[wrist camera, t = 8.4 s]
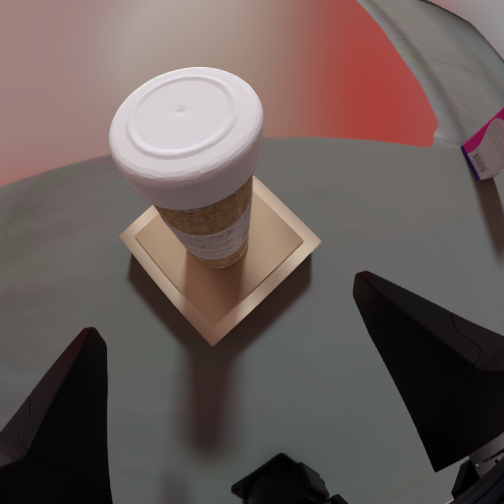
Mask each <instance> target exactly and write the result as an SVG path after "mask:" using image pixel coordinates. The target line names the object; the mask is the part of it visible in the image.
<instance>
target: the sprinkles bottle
mask: <svg viewBox="0 0 504 504" xmlns="http://www.w3.org/2000/svg"><path fill="white" fill-rule="evenodd" d="M262 137H263V109H262V105H261V102H260V100H259V98H258V96H257V95H256V93H255V92H254V90H253V89H252V88H251V87H250V86H249V85H248V84H247V83H246V82H245V81H243V80H242V79H241V78H239V77H237V76H236V75H233V74H231V73H229V72H226V71H223V70H219V69H214V68H206V67H192V68H184V69H179V70H174V71H171V72H167V73H165V74H162V75H159V76H157V77H155V78H153V79H151V80H149V81H148V82H146V83H144V84H143V85H142V86H140V87H139V88H138V89H136V90H135V91H134V92H133V93H132V94H131V95H129V96H128V98H127V99H126V100H125V101H124V102H123V103H122V105H121V106H120V108H119V109H118V111H117V113H116V115H115V117H114V119H113V121H112V124H111V127H110V132H109V149H110V153H111V156H112V159H113V161H114V163H115V165H116V166H117V168H118V169H119V171H120V172H121V174H122V175H123V176H124V178H125V179H126V180H127V182H128V183H129V184H130V185H131V187H132V188H133V189H134V190H135V191H136V193H137V194H138V195H139V196H141V197H142V198H143V199H145V200H146V201H147V202H149V203H151V204H153V205H154V207H155V208H156V210H157V211H158V212H159V214H160V216H161V219H162V220H163V221H164V223H165V224H166V225H167V226H168V227H169V229H170V230H171V231H172V232H173V233H174V235H175V236H176V237H177V238H178V239H179V241H180V242H181V243H182V244H183V245H184V246H185V248H186V249H187V250H189V252H190V254H191V256H192V257H193V258H194V259H195V260H196V261H197V262H198V263H199V264H201V265H203V266H206V267H208V268H214V269H219V268H226V267H228V266H231V265H233V264H234V263H236V262H237V261H238V260H239V259H240V258H241V257H242V256H243V254H244V253H245V251H246V248H247V246H248V241H249V234H248V232H249V226H250V216H251V206H252V197H253V172H254V170H255V168H256V166H257V164H258V161H259V158H260V153H261V146H262Z"/></svg>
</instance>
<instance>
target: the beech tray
mask: <svg viewBox="0 0 504 504" xmlns="http://www.w3.org/2000/svg"><path fill="white" fill-rule="evenodd" d="M248 234H249V241H248V246H247V248H246V251H245V253H244V254H243V256H242V257H241V258H240V259H239V260H238V261H237V262H236V263H234V264H233V265H231V266H228V267H226V268H219V269H214V268H208V267H206V266H203V265H201V264H199V263H198V262H197V261H196V260H195V259H194V258H193V257H192V256H191V254H190V252H189V250H187V249H186V248H185V246H184V245H183V244H182V243H181V242H180V241H179V239H178V238H177V237H176V236H175V235H174V233H173V232H172V231H171V230H170V229H169V227H168V226H167V225H166V224H165V223H164V221H163V220H162V219H161V216H160V214H159V212H158V211H157V210H156V208H155V207H154V205H152V206H151V207H150V208H149V209H148V210H147V211H146V212H144V213H143V214H142V215H141V216H140V217H139V218H138V219H137V220H136V221H135V222H134V223H132V224H131V225H130V226H129V227H128V228H127V229H126V230H125V231H124V232H123V233H122V234H121V235H120V238H121V239H122V240H123V242H124V243H125V244H126V246H127V247H128V248H129V250H130V251H131V252H132V254H133V255H134V256H135V257H136V259H137V260H138V261H139V263H140V264H141V265H142V266H143V268H144V269H145V270H146V271H147V273H148V274H149V275H150V276H151V278H152V279H153V280H154V281H155V283H156V284H157V285H158V286H159V287H160V289H161V290H162V291H163V292H164V293H165V295H166V296H167V297H168V298H169V299H170V301H171V302H172V303H173V304H174V305H175V306H176V307H177V309H178V310H179V311H180V312H181V313H182V314H183V315H184V317H185V318H186V319H187V320H188V321H189V322H190V323H191V324H192V325H193V327H194V328H195V329H196V330H197V331H198V332H199V333H200V334H201V335H202V336H203V337H204V338H205V339H206V340H207V342H208V343H209V344H210V345H211V346H212V347H213V346H214V345H215V344H216V343H217V342H218V341H219V340H221V339H222V338H223V337H224V336H225V335H226V334H227V333H228V332H229V331H230V330H231V329H233V328H234V327H235V326H236V325H237V324H238V323H239V322H240V321H241V320H242V319H243V318H244V317H245V316H246V315H248V314H249V313H250V312H251V311H252V310H253V309H254V308H255V307H256V306H257V305H258V304H259V303H260V302H261V301H262V300H263V299H264V298H265V297H266V296H267V295H268V294H270V293H271V292H272V291H273V290H274V289H275V288H276V287H277V286H278V285H279V284H280V283H281V282H282V281H283V280H284V279H285V278H286V277H287V276H288V275H289V274H290V273H291V272H292V271H293V270H294V269H295V268H296V267H297V266H298V265H299V264H300V263H301V262H302V261H303V260H304V259H305V258H306V257H307V256H308V255H309V254H310V253H311V252H312V251H313V250H314V249H315V248H316V247H317V246H318V245H319V244H320V243H321V242H322V241H321V240H320V239H319V238H318V237H317V236H316V235H315V234H314V233H313V232H312V231H311V230H310V229H309V228H308V227H307V226H306V225H305V224H304V223H303V222H302V221H301V220H300V219H299V218H298V217H297V216H296V215H295V214H294V213H292V212H291V211H290V210H289V209H288V208H287V207H286V206H285V205H284V204H283V203H282V202H281V201H280V200H279V199H278V198H277V197H276V196H275V195H274V194H273V193H272V192H271V191H270V190H269V189H267V188H266V187H265V186H264V185H263V184H262V183H261V182H260V181H259V180H258V179H257V178H256V177H255V176H253V197H252V206H251V216H250V226H249V232H248Z"/></svg>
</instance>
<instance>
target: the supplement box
mask: <svg viewBox="0 0 504 504" xmlns="http://www.w3.org/2000/svg"><path fill="white" fill-rule="evenodd" d="M461 149H462V151H463V152H464V154H465V156H466V158H467V160H468V161H469V163H470V165H471V167H472V169H473V171H474V173H475V175H476V178H477V180H478V181H482V180H486V179H490V178H493V177H495V176H496V175H498V174H499V173H501V172H502V171H503V170H504V107H503V108H502V109H501V110H500V111H499V112H498V113H497V114H496V115H495V116H494V117H493V118H492V119H490V120H489V121H488V122H487V123H486V124H485V125H484V126H483V127H482V128H481V129H480V130H479V131H478V132H476V133H475V134H474V135H473V136H472V137H471V138H470V139H469V140H467V141H466V142H465V143H464V144H463V145H462V146H461Z"/></svg>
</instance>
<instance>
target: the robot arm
mask: <svg viewBox="0 0 504 504" xmlns="http://www.w3.org/2000/svg"><path fill="white" fill-rule="evenodd" d="M353 297H354V300H355V302H356V304H357V307H358V309H359V311H360V314H361V316H362V318H363V321H364V323H365V326H366V328H367V330H368V333H369V335H370V337H371V339H372V340H373V342H374V344H375V346H376V348H377V350H378V352H379V353H380V355H381V357H382V359H383V361H384V363H385V365H386V367H387V369H388V371H389V373H390V375H391V377H392V379H393V381H394V383H395V385H396V387H397V389H398V391H399V393H400V395H401V397H402V399H403V401H404V403H405V405H406V407H407V409H408V411H409V414H410V416H411V418H412V420H413V422H414V424H415V427H416V428H417V431H418V434H419V436H420V438H421V441H422V443H423V445H424V447H425V450H426V452H427V455H428V457H429V459H430V462H431V464H432V467H433V469H434V471H435V473H436V472H438V471H440V470H442V469H444V468H446V467H448V466H450V465H452V464H454V463H456V462H458V461H459V460H461V459H463V458H465V457H467V456H469V459H468V460H466V461H465V462H464V463H463V464H461V466H460V469H459V472H458V475H457V478H456V481H455V484H454V487H453V489H452V492H451V493H452V495H453V498H454V500H453V501H452V502H450V503H449V504H504V336H502V335H500V334H498V333H495V332H493V331H491V330H488V329H486V328H483V327H481V326H479V325H477V324H474V323H472V322H470V321H468V320H466V319H464V318H462V317H460V316H458V315H456V314H454V313H452V312H450V311H448V310H446V309H444V308H442V307H440V306H438V305H437V304H435V303H433V302H431V301H429V300H427V299H425V298H423V297H421V296H419V295H417V294H415V293H413V292H410V291H408V290H406V289H404V288H402V287H400V286H398V285H396V284H394V283H392V282H390V281H388V280H386V279H384V278H382V277H380V276H377V275H375V274H373V273H371V272H369V271H362V272H359V273H357V274H356V275H355V279H354V286H353ZM107 396H108V375H107V346H106V343H105V341H104V340H103V338H102V337H101V335H100V334H99V332H98V331H97V329H96V328H94V327H88V328H84V329H83V330H82V331H81V332H80V333H79V334H78V336H77V337H76V338H75V339H74V340H73V341H72V342H71V344H70V345H69V346H68V347H67V348H66V350H65V351H64V352H63V353H62V354H61V355H60V357H59V358H58V359H57V360H56V362H55V363H54V364H53V365H52V366H51V368H50V369H49V370H48V371H47V373H46V374H45V375H44V376H43V378H42V379H41V380H40V382H39V383H38V384H37V385H36V387H35V388H34V389H33V391H32V392H31V393H30V396H28V397H27V399H26V400H25V401H24V403H23V404H22V405H21V407H20V408H19V409H18V411H17V412H16V413H15V415H14V416H13V417H12V418H11V420H10V421H9V422H8V423H7V424H6V426H5V427H4V428H3V429H2V431H1V432H0V504H113V502H112V495H111V489H110V478H109V466H108V448H107ZM281 457H283V459H279V458H281ZM235 488H238V489H235ZM231 491H232V492H233V493H235V494H236V495H238V496H239V497H241V498H243V504H348V503H347V502H346V501H345V500H344V499H343V498H342V497H341V496H340V495H339V494H337V495H334V496H332V497H331V498H329V495H330V494H329V492H328V491H327V489H326V487H325V482H324V481H323V480H322V479H321V478H320V476H319V474H318V473H317V472H315V471H314V470H312V469H311V468H309V467H308V466H307V465H305V464H304V463H300V462H299V463H297V462H295V461H294V460H293V459H291V458H290V457H289V456H287V455H286V454H284V453H280V454H277V455H276V456H275V457H273V458H272V459H271V460H269V461H268V462H267V463H265V464H264V465H262V466H261V467H260V468H258V469H257V470H255V471H254V472H252V473H251V474H249V475H248V476H246V477H245V478H243V479H242V480H240V481H239V482H237V483H236V484H234V485H232V487H231ZM327 498H328V499H327Z"/></svg>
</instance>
